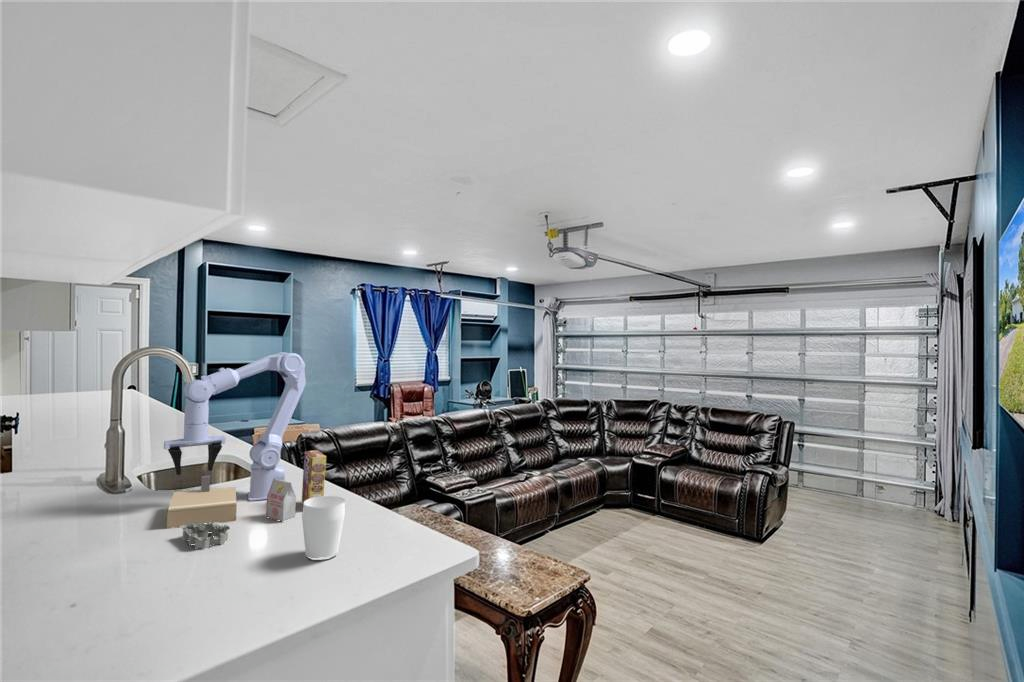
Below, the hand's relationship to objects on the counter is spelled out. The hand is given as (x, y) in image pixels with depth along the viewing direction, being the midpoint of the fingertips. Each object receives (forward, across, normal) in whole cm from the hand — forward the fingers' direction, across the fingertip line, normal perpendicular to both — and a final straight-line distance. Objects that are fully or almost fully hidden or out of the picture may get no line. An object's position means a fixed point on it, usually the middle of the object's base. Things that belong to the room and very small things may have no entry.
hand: (194, 472), depth 141 cm
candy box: (+10, -26, +18) cm, 33 cm away
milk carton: (+10, -16, +22) cm, 29 cm away
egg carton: (+10, +4, +28) cm, 30 cm away
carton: (+10, -1, +8) cm, 13 cm away
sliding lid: (+6, -1, +8) cm, 10 cm away
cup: (+10, -14, +52) cm, 55 cm away
